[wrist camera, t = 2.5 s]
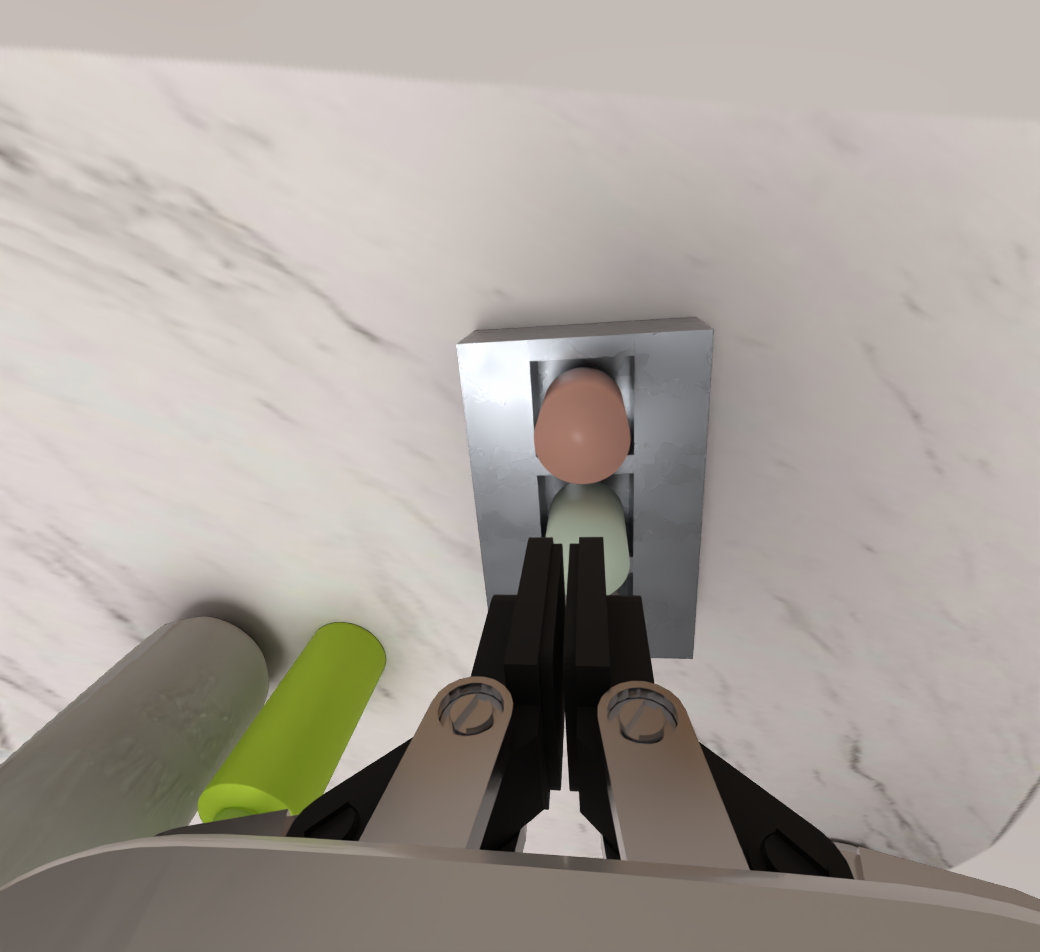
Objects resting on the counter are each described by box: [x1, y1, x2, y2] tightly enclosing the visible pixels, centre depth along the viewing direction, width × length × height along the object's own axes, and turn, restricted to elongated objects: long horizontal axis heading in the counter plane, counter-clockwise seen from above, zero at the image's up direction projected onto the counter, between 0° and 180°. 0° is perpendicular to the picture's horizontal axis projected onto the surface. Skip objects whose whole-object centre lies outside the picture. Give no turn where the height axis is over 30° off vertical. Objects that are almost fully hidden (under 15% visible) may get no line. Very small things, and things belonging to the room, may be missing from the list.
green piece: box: [546, 482, 630, 595], centre depth 27 cm, size 4×4×5 cm
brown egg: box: [534, 367, 631, 484], centre depth 24 cm, size 4×4×5 cm
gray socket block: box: [456, 317, 714, 659], centre depth 31 cm, size 12×19×4 cm, turn 4°
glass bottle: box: [0, 616, 269, 887], centre depth 29 cm, size 10×10×28 cm
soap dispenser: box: [198, 622, 386, 823], centre depth 31 cm, size 6×7×20 cm
